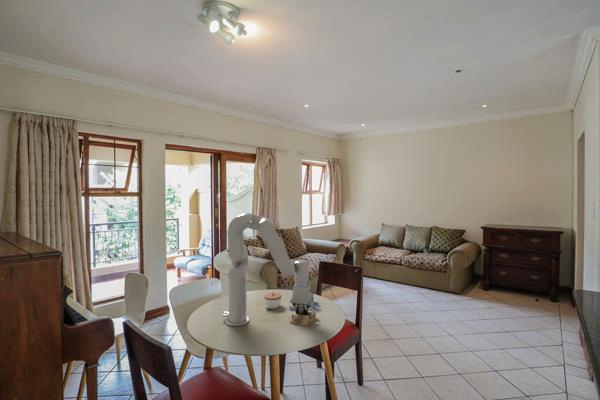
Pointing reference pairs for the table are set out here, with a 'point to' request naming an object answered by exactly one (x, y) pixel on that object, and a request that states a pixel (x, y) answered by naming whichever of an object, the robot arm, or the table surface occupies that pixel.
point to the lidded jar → (272, 300)
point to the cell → (301, 309)
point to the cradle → (304, 319)
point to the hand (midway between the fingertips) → (301, 315)
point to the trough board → (312, 308)
